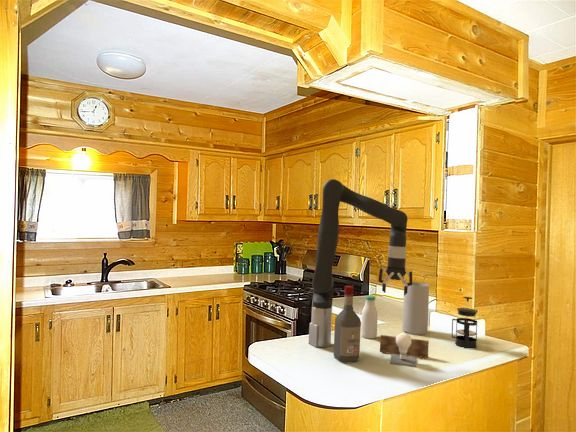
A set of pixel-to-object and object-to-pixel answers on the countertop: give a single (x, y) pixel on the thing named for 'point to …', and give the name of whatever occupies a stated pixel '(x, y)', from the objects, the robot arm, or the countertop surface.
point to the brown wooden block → (415, 349)
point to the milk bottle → (369, 319)
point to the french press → (466, 327)
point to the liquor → (347, 331)
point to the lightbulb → (403, 344)
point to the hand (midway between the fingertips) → (394, 293)
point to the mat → (407, 362)
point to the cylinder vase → (416, 309)
